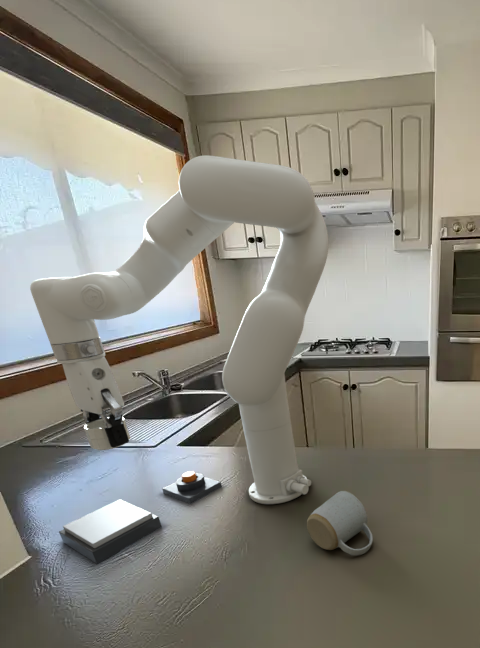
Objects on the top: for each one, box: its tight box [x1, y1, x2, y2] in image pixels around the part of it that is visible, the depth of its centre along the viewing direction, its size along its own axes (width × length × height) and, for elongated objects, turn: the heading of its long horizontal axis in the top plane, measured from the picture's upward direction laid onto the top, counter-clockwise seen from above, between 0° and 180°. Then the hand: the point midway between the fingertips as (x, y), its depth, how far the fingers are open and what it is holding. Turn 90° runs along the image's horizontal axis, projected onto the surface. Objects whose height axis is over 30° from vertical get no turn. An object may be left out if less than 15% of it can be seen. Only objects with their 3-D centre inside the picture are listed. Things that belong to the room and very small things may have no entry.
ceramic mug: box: [306, 490, 374, 556], centre depth 71 cm, size 11×8×8 cm
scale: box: [58, 498, 162, 565], centre depth 79 cm, size 13×12×4 cm
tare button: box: [181, 470, 197, 483], centre depth 93 cm, size 3×3×2 cm
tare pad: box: [162, 472, 222, 505], centre depth 94 cm, size 10×8×3 cm
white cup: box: [83, 416, 131, 451], centre depth 82 cm, size 7×7×5 cm
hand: (110, 440), depth 83 cm, fingers closed on white cup, 6 cm apart
